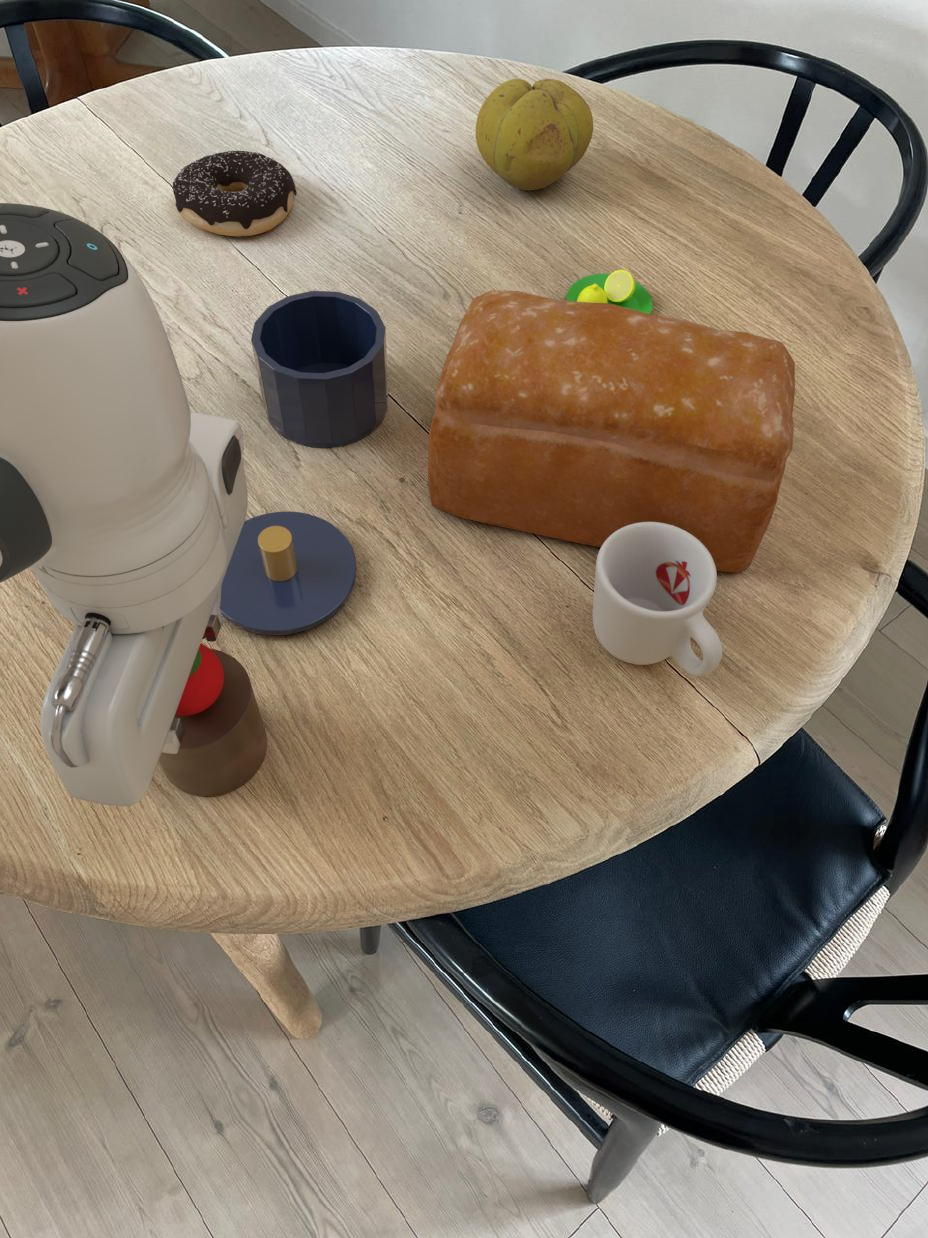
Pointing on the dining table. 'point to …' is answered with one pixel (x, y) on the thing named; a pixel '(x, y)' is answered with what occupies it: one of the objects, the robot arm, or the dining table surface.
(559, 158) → the fruit
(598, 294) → the green dish with lemons
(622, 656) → the cup
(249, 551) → the pot lid
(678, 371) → the bread
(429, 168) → the dining table surface
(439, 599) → the dining table surface
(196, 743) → the stand
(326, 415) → the pot
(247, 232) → the donut
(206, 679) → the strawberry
